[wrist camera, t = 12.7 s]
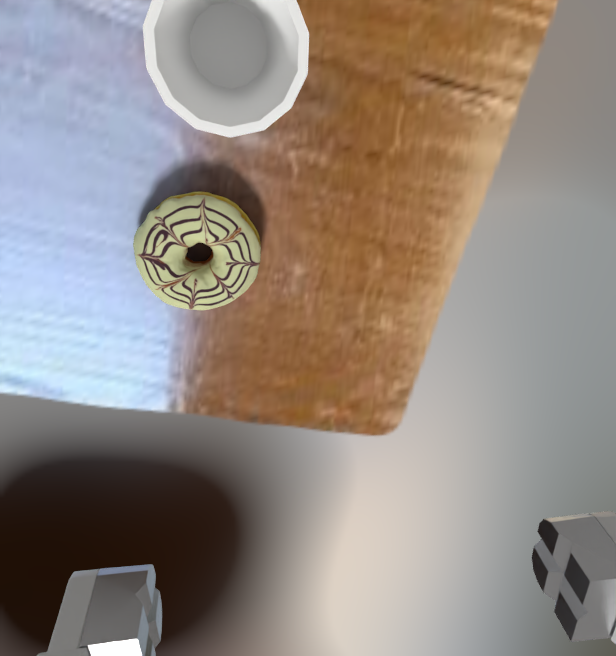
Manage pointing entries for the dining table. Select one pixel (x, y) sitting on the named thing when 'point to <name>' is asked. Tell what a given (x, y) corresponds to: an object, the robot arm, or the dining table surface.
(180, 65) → the foam cup
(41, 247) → the dining table surface
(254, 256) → the decorated donut
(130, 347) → the dining table surface
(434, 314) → the dining table surface
